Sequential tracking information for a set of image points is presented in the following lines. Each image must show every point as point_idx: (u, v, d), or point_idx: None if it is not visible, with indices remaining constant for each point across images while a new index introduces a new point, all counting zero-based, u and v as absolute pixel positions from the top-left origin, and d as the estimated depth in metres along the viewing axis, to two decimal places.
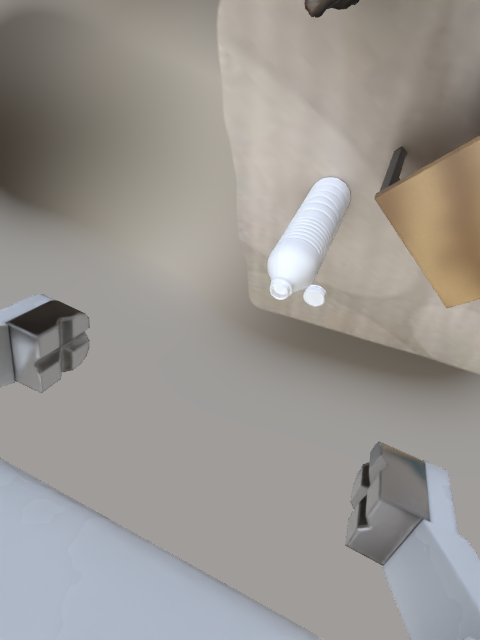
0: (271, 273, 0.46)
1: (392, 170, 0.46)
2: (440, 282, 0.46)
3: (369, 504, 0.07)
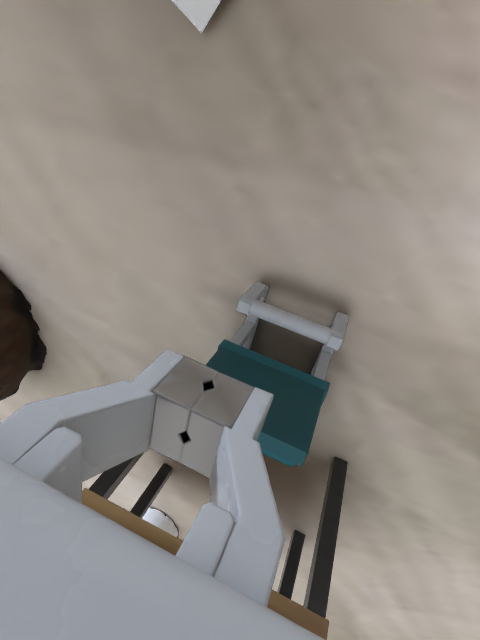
0: None
1: None
2: None
3: None
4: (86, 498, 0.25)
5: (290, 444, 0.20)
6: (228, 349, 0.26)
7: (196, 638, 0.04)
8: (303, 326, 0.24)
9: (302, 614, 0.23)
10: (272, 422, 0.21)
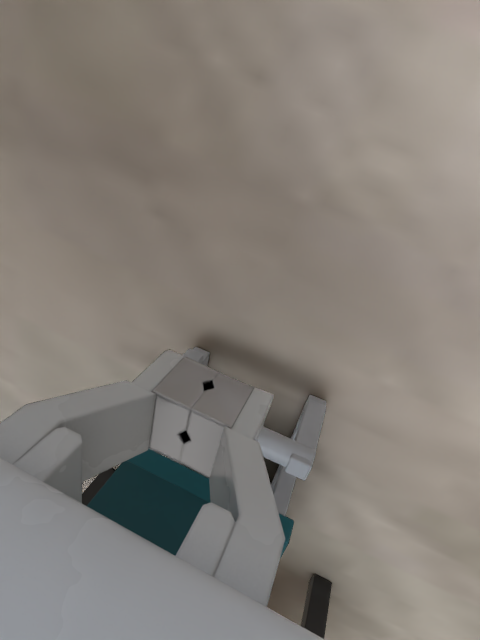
0: None
1: None
2: None
3: None
4: None
5: None
6: (135, 465, 0.16)
7: (196, 638, 0.04)
8: None
9: None
10: None
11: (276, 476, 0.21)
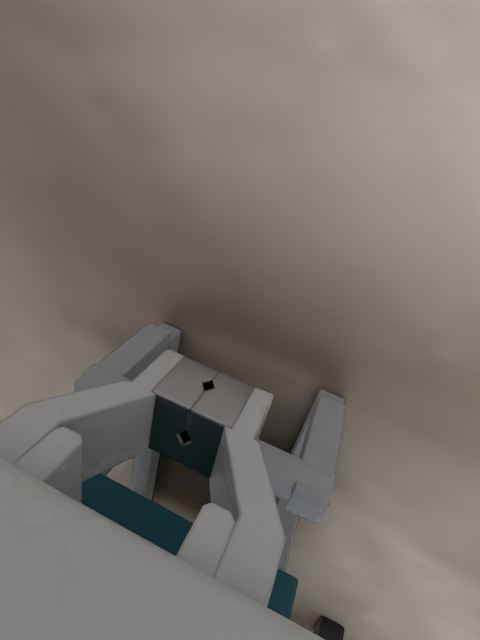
0: None
1: None
2: None
3: None
4: None
5: None
6: None
7: (196, 638, 0.04)
8: None
9: None
10: None
11: None
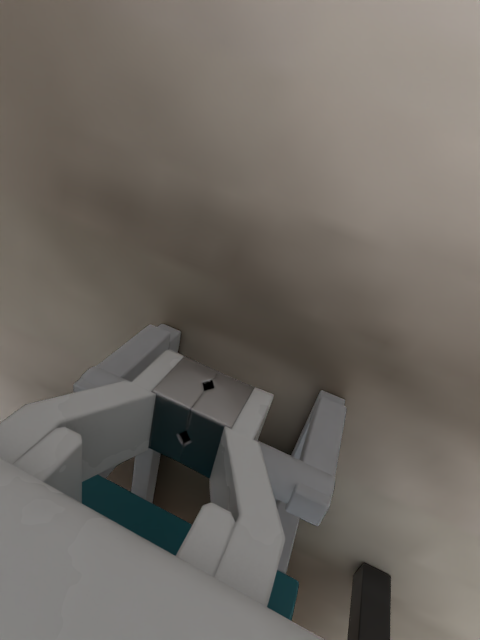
0: None
1: None
2: None
3: None
4: None
5: None
6: None
7: (196, 638, 0.04)
8: None
9: None
10: None
11: None
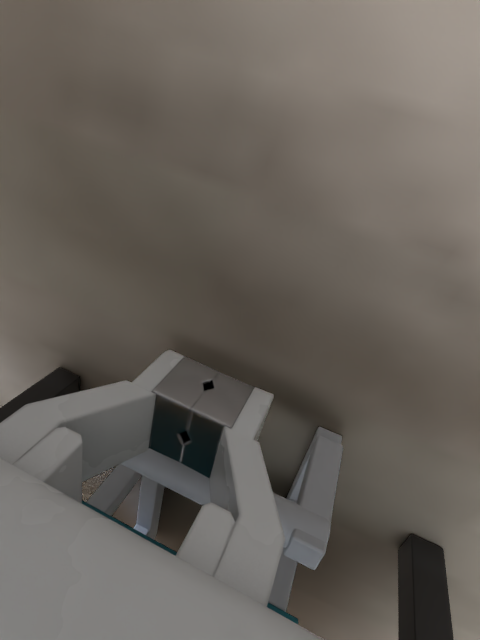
0: None
1: None
2: None
3: None
4: None
5: None
6: None
7: (196, 638, 0.04)
8: None
9: None
10: None
11: None
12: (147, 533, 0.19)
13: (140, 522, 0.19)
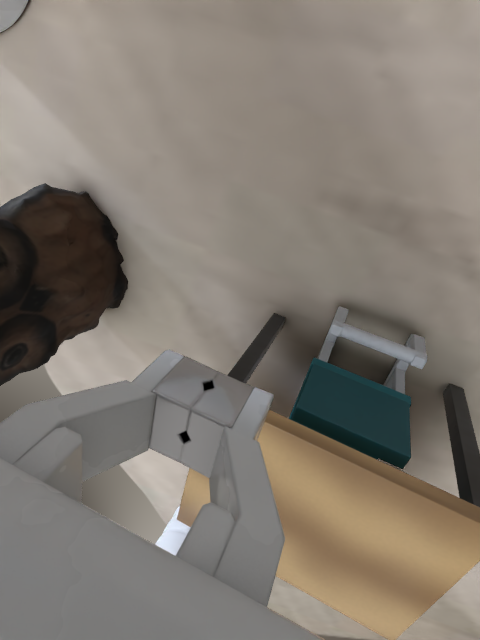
0: None
1: None
2: (343, 604, 0.27)
3: None
4: None
5: (395, 449, 0.23)
6: (320, 366, 0.29)
7: (196, 638, 0.04)
8: (390, 348, 0.28)
9: (472, 509, 0.21)
10: (375, 430, 0.24)
11: None
12: None
13: None
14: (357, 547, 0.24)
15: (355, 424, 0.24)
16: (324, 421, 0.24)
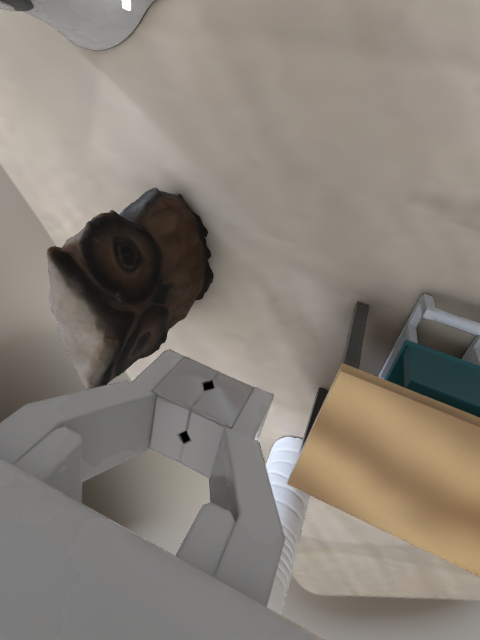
0: None
1: (306, 429, 0.40)
2: (444, 550, 0.31)
3: None
4: (349, 370, 0.28)
5: None
6: (414, 347, 0.33)
7: (196, 638, 0.04)
8: None
9: None
10: (479, 398, 0.29)
11: None
12: None
13: (383, 375, 0.41)
14: (466, 497, 0.28)
15: (462, 394, 0.29)
16: (436, 392, 0.28)
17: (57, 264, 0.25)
